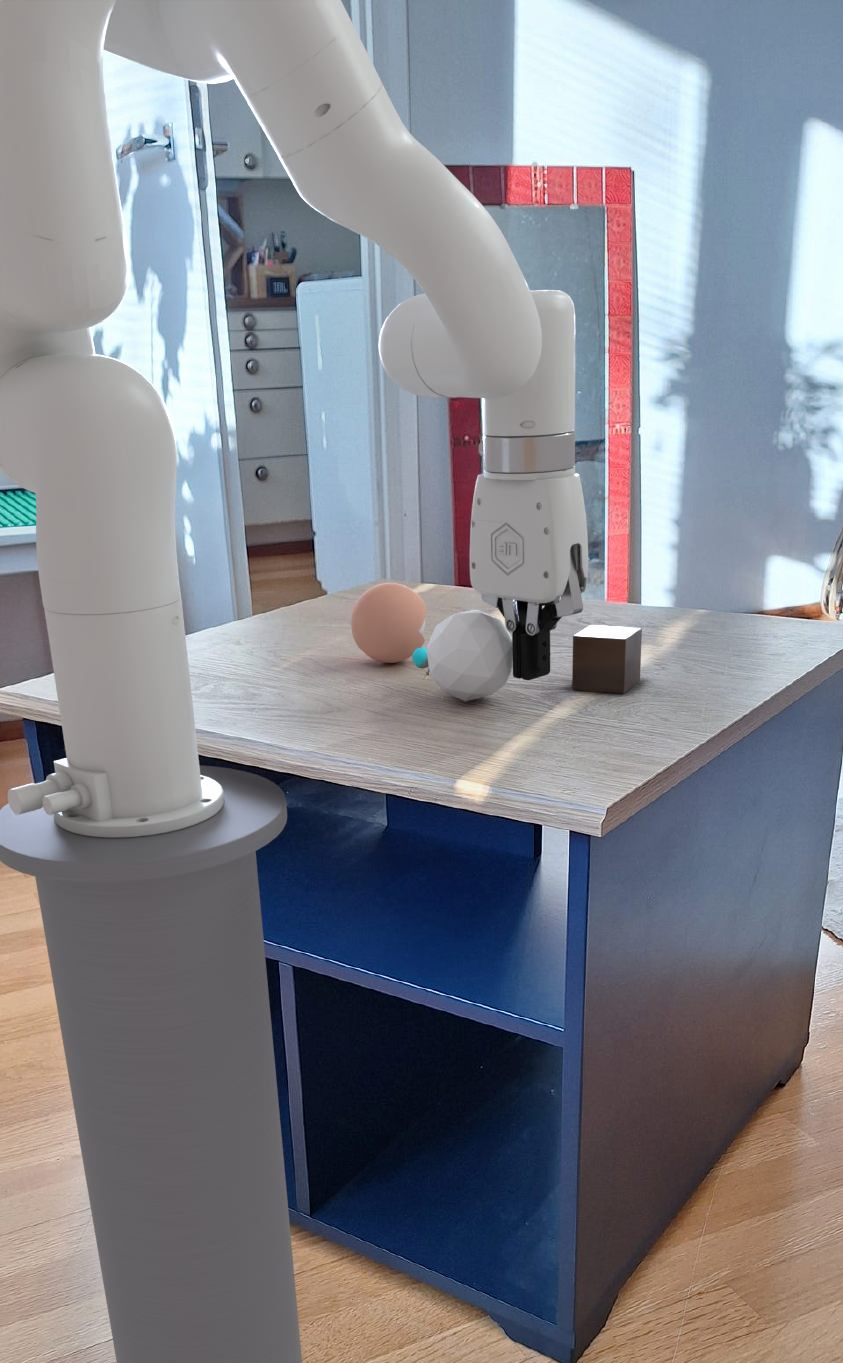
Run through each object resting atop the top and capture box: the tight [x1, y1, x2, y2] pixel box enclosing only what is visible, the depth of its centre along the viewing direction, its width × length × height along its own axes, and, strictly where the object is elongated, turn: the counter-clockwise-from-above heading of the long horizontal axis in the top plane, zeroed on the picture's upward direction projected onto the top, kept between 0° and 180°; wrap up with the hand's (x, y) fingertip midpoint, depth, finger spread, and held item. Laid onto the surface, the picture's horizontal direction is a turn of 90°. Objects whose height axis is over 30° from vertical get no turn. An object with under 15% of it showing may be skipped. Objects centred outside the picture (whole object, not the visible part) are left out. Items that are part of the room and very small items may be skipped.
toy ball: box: [350, 582, 427, 664], centre depth 130 cm, size 8×8×8 cm
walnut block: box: [571, 624, 643, 695], centre depth 119 cm, size 5×5×5 cm
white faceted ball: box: [411, 608, 513, 702], centre depth 117 cm, size 8×8×12 cm
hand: (531, 675), depth 114 cm, fingers closed
